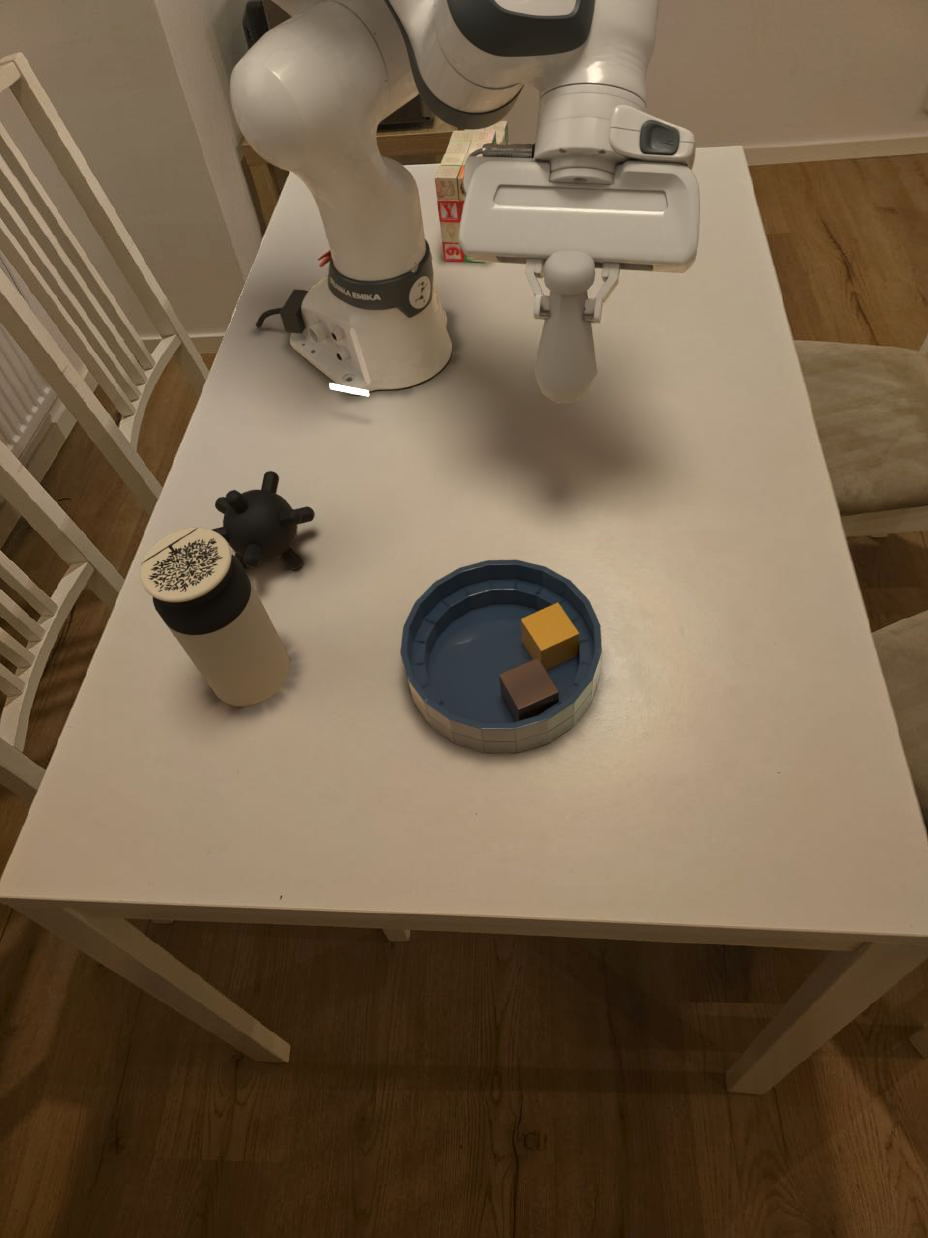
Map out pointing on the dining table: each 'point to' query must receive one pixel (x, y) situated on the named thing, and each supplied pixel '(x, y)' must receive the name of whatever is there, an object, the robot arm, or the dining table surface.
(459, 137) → the stack of blocks
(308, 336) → the robot arm
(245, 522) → the toy ball
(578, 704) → the bowl
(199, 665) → the travel mug
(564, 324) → the salt shaker
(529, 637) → the mustard block
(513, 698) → the walnut block
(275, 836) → the dining table surface
